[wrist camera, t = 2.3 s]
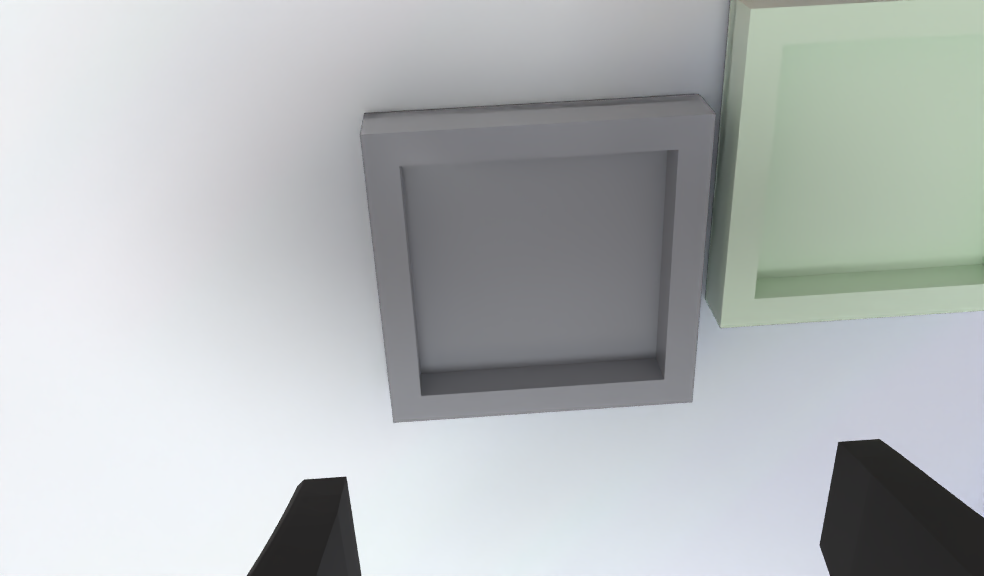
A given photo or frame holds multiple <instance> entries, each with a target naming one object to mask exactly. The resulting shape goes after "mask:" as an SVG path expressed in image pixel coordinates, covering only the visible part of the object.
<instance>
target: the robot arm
mask: <svg viewBox="0 0 984 576" xmlns="http://www.w3.org/2000/svg"><path fill="white" fill-rule="evenodd" d="M820 548H821V551H822V553H823V556H824V559H825V562H826V565H827V568H828V571H829V574H830V576H984V518H983V517H982V516H981V515H979V514H978V513H976V512H975V511H974V510H972V509H971V508H970V507H969V506H967V505H966V504H965V503H963V502H962V501H961V500H959V499H958V498H957V497H955V496H954V495H953V494H951V493H950V492H949V491H947V490H946V489H945V488H944V487H942V486H941V485H940V484H938V483H937V482H936V481H934V480H933V479H932V478H931V477H929V476H928V475H927V474H925V473H924V472H923V471H921V470H920V469H919V468H918V467H916V466H915V465H914V464H912V463H911V462H910V461H908V460H907V459H906V458H904V457H903V456H902V455H901V454H899V453H898V452H897V451H895V450H894V449H893V448H891V447H890V446H888V445H887V444H886V443H884V442H883V441H881V440H880V439H874V440H860V441H845V442H838V447H837V452H836V458H835V463H834V469H833V474H832V480H831V485H830V491H829V496H828V502H827V507H826V513H825V518H824V524H823V529H822V535H821V540H820ZM247 576H361V570H360V563H359V557H358V550H357V543H356V537H355V530H354V524H353V517H352V511H351V504H350V498H349V491H348V484H347V478H346V477H335V478H321V479H307V480H303V481H302V482H301V483H300V484H299V485H298V486H297V488H296V490H295V492H294V494H293V496H292V498H291V500H290V502H289V504H288V506H287V508H286V510H285V512H284V514H283V516H282V517H281V519H280V521H279V523H278V525H277V526H276V528H275V530H274V532H273V533H272V535H271V537H270V539H269V540H268V542H267V544H266V546H265V547H264V549H263V551H262V552H261V554H260V556H259V557H258V559H257V560H256V562H255V564H254V565H253V567H252V568H251V570H250V571H249V573H248V575H247Z"/></svg>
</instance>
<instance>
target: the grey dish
mask: <svg viewBox="0 0 984 576" xmlns="http://www.w3.org/2000/svg"><path fill="white" fill-rule="evenodd" d="M715 118H716V114H715V112H714V111H713V110H712V109H711V108H710V106H709V105H708V104H707V103H706V102H705V101H704V99H703V98H702V97H701V96H700V95H699V94H693V95H676V96H658V97H641V98H624V99H606V100H589V101H572V102H555V103H537V104H520V105H503V106H485V107H468V108H451V109H433V110H416V111H399V112H381V113H364V117H363V122H362V127H361V133H360V138H361V147H362V156H363V164H364V173H365V182H366V190H367V199H368V208H369V216H370V225H371V234H372V242H373V251H374V259H375V268H376V277H377V285H378V294H379V303H380V311H381V320H382V329H383V337H384V346H385V355H386V363H387V372H388V381H389V389H390V398H391V406H392V415H393V423H396V422H411V421H425V420H440V419H455V418H469V417H484V416H498V415H513V414H527V413H542V412H556V411H571V410H586V409H600V408H615V407H629V406H644V405H658V404H673V403H687V402H692V400H693V388H694V376H695V363H696V351H697V339H698V327H699V314H700V302H701V290H702V278H703V265H704V253H705V241H706V229H707V216H708V204H709V192H710V180H711V167H712V155H713V143H714V131H715Z"/></svg>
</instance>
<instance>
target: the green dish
mask: <svg viewBox="0 0 984 576" xmlns="http://www.w3.org/2000/svg"><path fill="white" fill-rule="evenodd" d="M705 300H706V302H707V304H708V306H709V308H710V309H711V311H712V313H713V315H714V317H715V319H716V321H717V323H718V325H719V326H720V328H730V327H745V326H760V325H775V324H790V323H805V322H821V321H836V320H851V319H866V318H881V317H896V316H911V315H926V314H941V313H957V312H972V311H984V0H730V10H729V22H728V34H727V46H726V58H725V70H724V82H723V93H722V105H721V117H720V129H719V141H718V153H717V165H716V176H715V188H714V200H713V212H712V224H711V236H710V248H709V259H708V271H707V283H706V295H705Z"/></svg>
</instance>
